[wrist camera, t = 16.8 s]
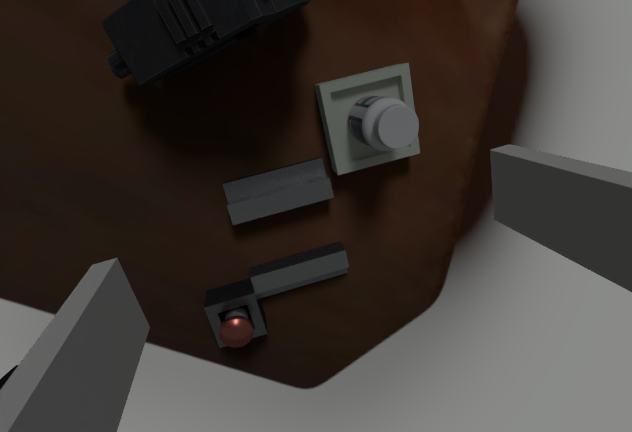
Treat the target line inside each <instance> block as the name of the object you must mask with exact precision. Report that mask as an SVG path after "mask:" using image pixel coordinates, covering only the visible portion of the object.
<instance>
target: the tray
mask: <svg viewBox="0 0 632 432" xmlns="http://www.w3.org/2000/svg"><path fill="white" fill-rule="evenodd" d="M314 86H315V91H316V96H317V100H318V105H319V110H320V114H321V119H322V123H323V128H324V133H325V137H326V142H327V147H328V151H329V156H330V161H331V165H332V170H333V171H334V172H335V173H336V174H337V175H341V174H345V173H349V172H352V171H356V170H360V169H364V168H367V167H371V166H375V165H378V164H382V163H386V162H389V161H393V160H397V159H400V158H404V157H408V156H412V155H415V154H419V153H420V148H419V140H418V133H417V136H416V138H415V139H414V141H413V142H412V143H411V144H409V145H408V146H406V147H404V148H401V149H395V150H392V151H379V150H376V149H374V148H372V147H370V146H368V145H366V144H364V143H361V142H359V141H358V140H356V139H355V138H354V137H353V136H352V135H351V133H350V131H349V128H348V123H347V119H348V114H349V111H350V109H351V107H352V106H353V104H354V103H355V102H356V101H357V100H359V99H360V98H362V97H365V96H384V97H393V98H396V99H399V100H401V101H403V102H404V103H405V104H406V105H407V106H408V107H409V108H410V109H412V110H413V111H414V112H415V109H414V101H413V93H412V86H411V78H410V70H409V63H405V64H397V65H393V66H389V67H385V68H381V69H377V70H373V71H369V72H365V73H360V74H356V75H352V76H348V77H344V78H340V79H336V80H332V81H328V82H324V83H320V84H316V85H314Z"/></svg>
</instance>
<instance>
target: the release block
mask: <svg viewBox="0 0 632 432" xmlns="http://www.w3.org/2000/svg"><path fill="white" fill-rule="evenodd" d="M244 305H247V306H248V309H249V313H248V319H249V320H250V321H251V323H252V325H253V337H252V338H255V337H258V336H261V335H265V334H267V326H266V316H265V313H264V310H263V307H262V303H261V300H260V299H259V296H258V294H255V291H254V288H253V284H252V281H251V278H249V279H246V280H242V281H239V282H235V283H232V284H228V285H225V286H222V287H218V288H215V289H211V290H208V291H207V293H206V300H205V306H204V309H205V311H206V314H207V316H208V319H209V321H210V324H211V327H212V329H213V332H214V334H215V337H216V339H217V342H218V345H219V347H220V348H222V347H225V346H227V345H225V344H224V343H223V342H222V341H221V339H220V336H219V333H220V326H221V324H222V322H223V321H224V320H225V311H227V310H230V309H233V308H237V307H240V306H244Z"/></svg>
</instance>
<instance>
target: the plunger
mask: <svg viewBox="0 0 632 432" xmlns="http://www.w3.org/2000/svg"><path fill="white" fill-rule="evenodd" d="M219 336H220V339H221V341H222V342H223V343H224V344H225V345H227V346H229V347H233V348H237V347H242V346H244V345H246V344H247V343H249V342H250V340H251V339H252V337H253V325H252V323H251V321H250V320H249V319H248V306H247V305H244V306H240V307H237V308H233V309H230V310H227V311H225V320H224V321H223V322H222V324H221V326H220V333H219Z"/></svg>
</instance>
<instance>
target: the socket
mask: <svg viewBox="0 0 632 432" xmlns="http://www.w3.org/2000/svg"><path fill="white" fill-rule="evenodd" d="M222 185H223V188H224V191H225V195H226V198H227V208H228V211H229V214H230V217H231V220H232V223H233V225H236V224H239V223H243V222H247V221H250V220H254V219H258V218H261V217H265V216H268V215H272V214H276V213H279V212H283V211H287V210H290V209H294V208H297V207H301V206H305V205H308V204H312V203H316V202H319V201H323V200H326V199H330V198H334V196H333V191H332V187H331V182H330V178H329V177H328V176H327V175H326V173H325V168H324V164H323V159H322V157H318V158H315V159H311V160H307V161H303V162H300V163H296V164H292V165H288V166H284V167H281V168H277V169H273V170H269V171H266V172H262V173H258V174H254V175H250V176H247V177H243V178H239V179H235V180H232V181H228V182H224V183H222ZM347 267H349V264H348V260H347V255H346V251H345V249H344V247H343V245H342V244H341V242H336V243H333V244H329V245H326V246H322V247H319V248H315V249H312V250H308V251H305V252H301V253H298V254H294V255H291V256H287V257H284V258H280V259H277V260H273V261H270V262H267V263H263V264H260V265H256V266H253V267H250V278H251V281H252V284H253V288H254V291H255V294H258V296H259V299H260V298H263V297H267V296H270V295H273V294H277V293H280V292H284V291H287V290H290V289H294V288H297V287H301V286H304V285H307V284H311V283H314V282H317V281H321V280H324V279H328V278H331V277H334V276H338V275H341V274H345V273H348V272H347Z"/></svg>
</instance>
